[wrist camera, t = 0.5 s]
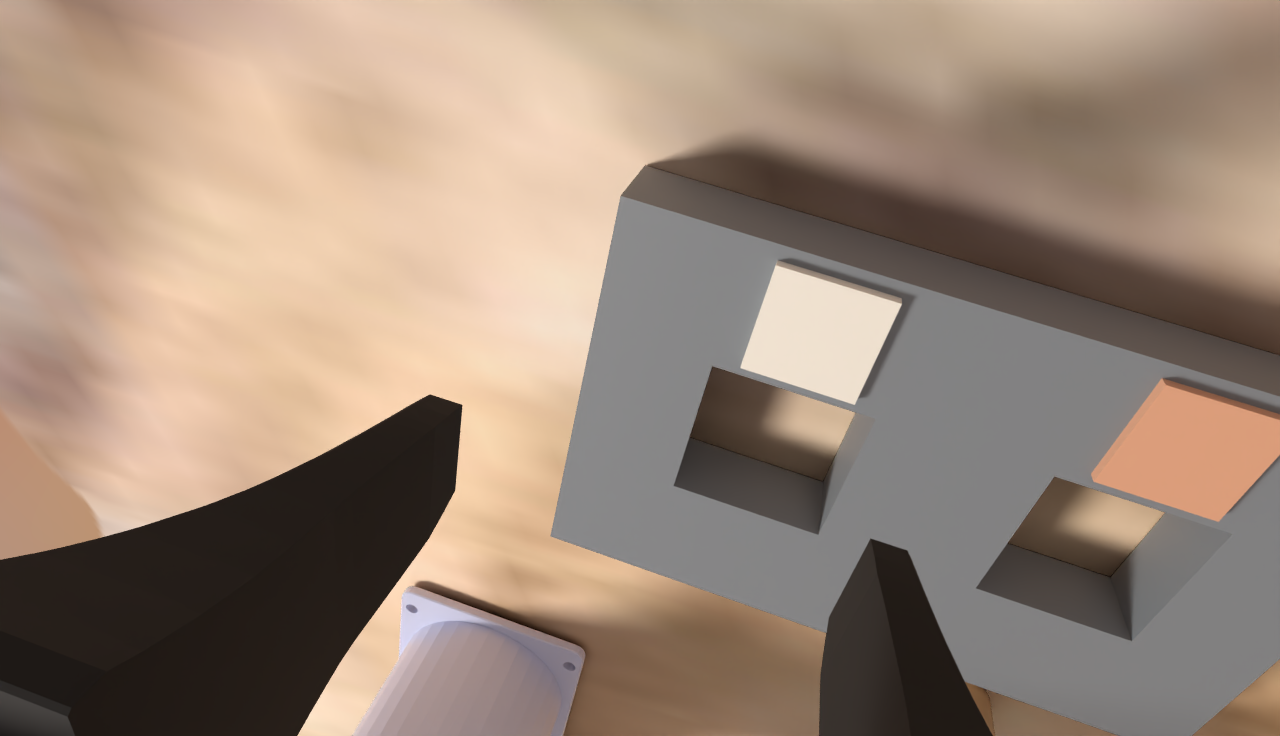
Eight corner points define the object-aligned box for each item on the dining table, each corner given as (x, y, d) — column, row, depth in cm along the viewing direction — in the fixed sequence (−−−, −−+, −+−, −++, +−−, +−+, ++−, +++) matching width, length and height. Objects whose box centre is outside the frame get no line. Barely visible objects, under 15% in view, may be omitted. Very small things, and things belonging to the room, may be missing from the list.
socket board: (1147, 686, 25) (1174, 763, 23) (573, 488, 27) (547, 542, 25) (1436, 402, 19) (1512, 473, 16) (645, 165, 20) (617, 200, 18)
